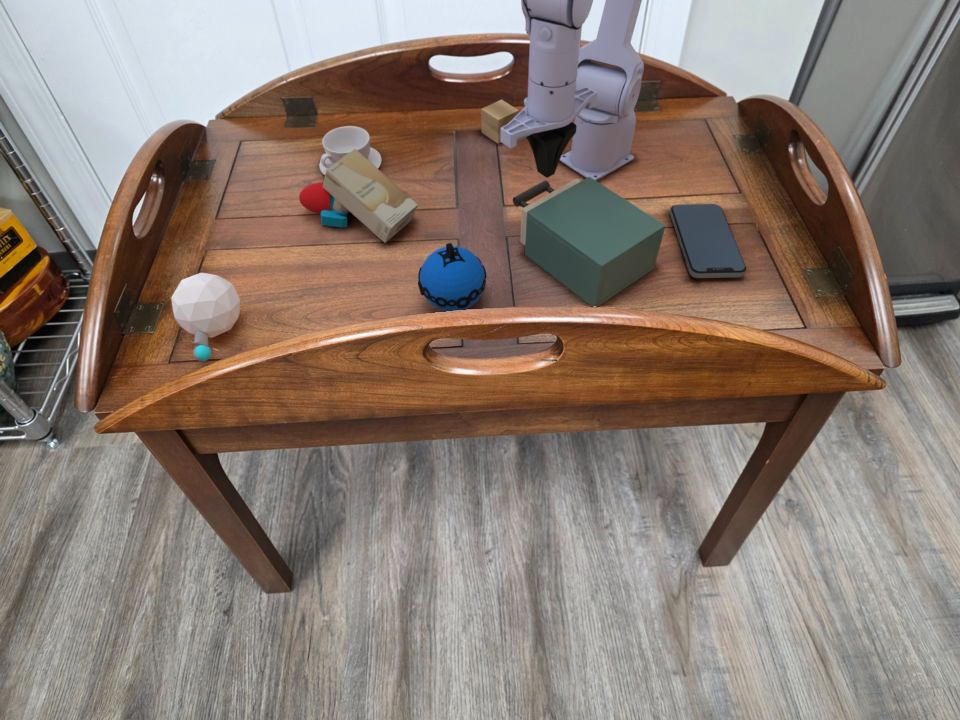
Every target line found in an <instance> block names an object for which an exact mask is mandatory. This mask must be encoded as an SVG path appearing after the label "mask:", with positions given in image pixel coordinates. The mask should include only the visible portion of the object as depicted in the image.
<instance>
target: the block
mask: <svg viewBox="0 0 960 720" xmlns="http://www.w3.org/2000/svg"><path fill="white" fill-rule="evenodd" d="M519 112H520V110H519V109H517V108H516V107H515V106H513V105H511V104H509V103H508V102H506V101H505V100H503V99H499V100H497V101H495V102H493V103H490V104H489V105H486V106H484V107H483V108H481V109H480V116H481V121H480V124H481V134H483V135H484V136H486V137H487V138H488V139H490V140H491V141H493V142H495V143H496V144H498V145H500V144H501V143H502V142H500V136H501V127H503V126H505V125H507V124H508V123H509V122H510V121H511V120H512V119H513V118H514V117H515V116H516V115H517V114H518V113H519Z"/></svg>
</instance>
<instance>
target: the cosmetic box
mask: <svg viewBox="0 0 960 720" xmlns="http://www.w3.org/2000/svg"><path fill="white" fill-rule="evenodd" d="M323 182H324V184H323V188H324V189H325V190H327V191H328V192H329V193H330V194H331V195H332V196H333V197H334V198H335V199H337V200H338V201H339V202H340V203H341V204H342V205H343V206H344V207H345V208H347V209H348V210H349V211H350V212H349V213H351V214H352V216H354V217H355V218H356V219H357V220H358V221H359V222H361V223H362V224H363V225H364V226H365V227H366V228H368V229H369V230H370V231H371V232H372V233H373V234H374V235H375V236H377V237H378V239H380V240H381V242H383V243H384V244H386V243H387V242H388V241H390V240H391V239H392V238H393V237H394V236H395V235H396V234H398V233H399V232H400V231H401V230H402V229H403V228H404V227H406V226H407V225H408V224H409V223H410V222H411V221H412V220H413V217H414V215H415V213H416V210H417V208H418V206H419V204H418V203H417V202H415V200H414V199H412V198H411V196H409V195H408V194H407V193H405V192H404V190H402V189H401V188H400V187H399V186H398V185H397V184H395V183H394V182H393V180H391V179H390V178H389V177H388V176H387V175H386V174H384V172H382V171H381V170H380V169H379V168H378V169H377V168H376V167H375V166H374V165H373V164H372V163H371V162H370V161H368V160H367V159H366V158H365V157H364V156H363V155H362V154H361V153H360V152H358V151H357V150H356V149H354V150H352V151H351V152H350V153H348V154H347V155H346V156H344V157H343V158H341V159H340V160H339V161H337V162H336V163H335V164H334V165H332V166H331V167H330V168H328V169H327V170H326V174H325V175H324V180H323Z"/></svg>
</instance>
